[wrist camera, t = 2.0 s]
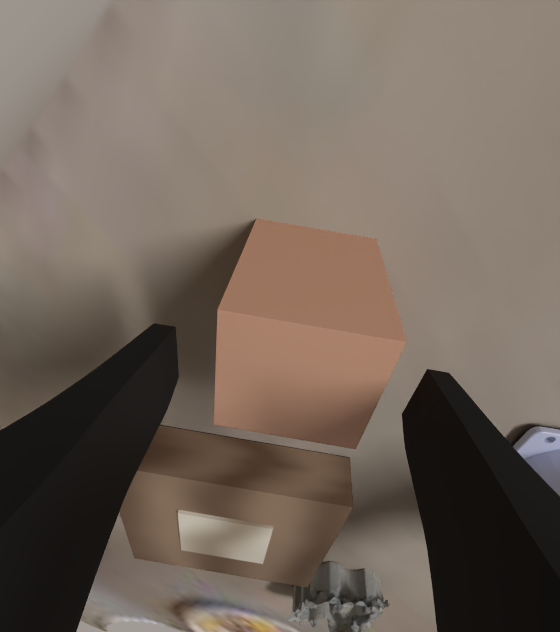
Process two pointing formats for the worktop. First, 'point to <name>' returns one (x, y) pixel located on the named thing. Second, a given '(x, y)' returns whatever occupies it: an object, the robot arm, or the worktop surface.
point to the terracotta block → (305, 335)
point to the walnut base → (236, 506)
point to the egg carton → (339, 598)
